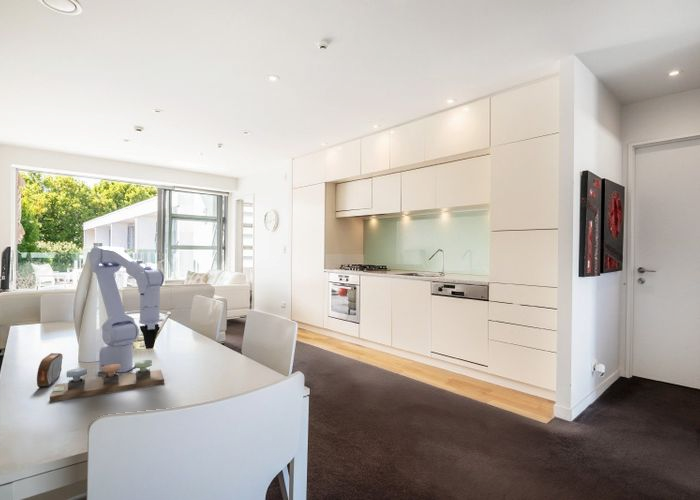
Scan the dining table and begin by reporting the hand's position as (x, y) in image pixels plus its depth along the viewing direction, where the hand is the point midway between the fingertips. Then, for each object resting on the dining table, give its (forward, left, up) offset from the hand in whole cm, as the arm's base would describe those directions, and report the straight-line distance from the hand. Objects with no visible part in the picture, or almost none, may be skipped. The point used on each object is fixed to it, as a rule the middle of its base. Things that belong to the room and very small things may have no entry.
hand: (149, 347), depth 124 cm
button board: (-6, -10, -9) cm, 15 cm away
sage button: (+1, -5, -6) cm, 8 cm away
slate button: (-13, -15, -6) cm, 21 cm away
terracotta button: (-6, -10, -6) cm, 13 cm away
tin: (-27, -7, -10) cm, 30 cm away
